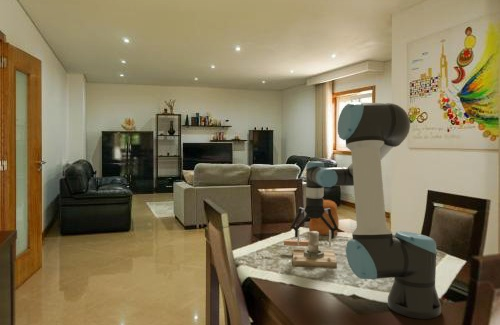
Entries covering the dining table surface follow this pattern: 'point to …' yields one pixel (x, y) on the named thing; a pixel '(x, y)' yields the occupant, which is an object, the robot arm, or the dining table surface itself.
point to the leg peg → (313, 242)
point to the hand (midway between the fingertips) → (314, 245)
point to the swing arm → (295, 242)
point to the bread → (319, 224)
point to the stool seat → (314, 258)
